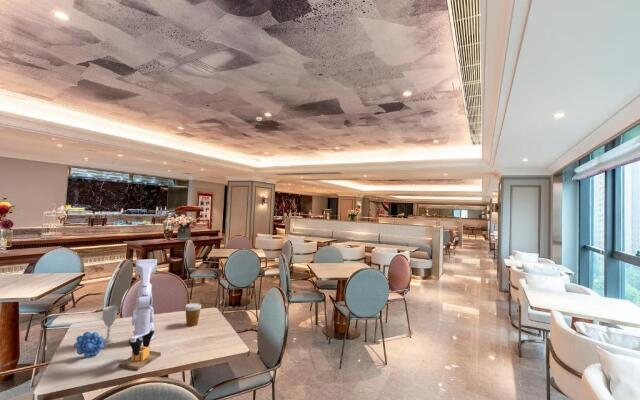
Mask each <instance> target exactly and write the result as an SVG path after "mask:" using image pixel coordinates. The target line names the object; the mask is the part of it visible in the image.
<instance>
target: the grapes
mask: <svg viewBox="0 0 640 400" xmlns="http://www.w3.org/2000/svg"><path fill="white" fill-rule="evenodd" d="M104 339H105V338H104V337H103V336H100V334H99V333H98V332H96V331H94V332H92V333H91V332H90V331H85V332H83V335H78V336H77V337H76V338H75V340H76V341H75V343H74V344H73V348H74V349H77V350H76V353H77V355H81V356H82V355H83V356H85V357H86V358H89V357H91V356H92V355H94V356H97V355H98V354H99V353H100V350H102V349H104V348H105V345H104V344H103V341H104Z"/></svg>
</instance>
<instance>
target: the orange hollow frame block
mask: <svg viewBox="0 0 640 400" xmlns="http://www.w3.org/2000/svg"><path fill="white" fill-rule="evenodd" d="M141 349H143V351H142V352H141V351H140V353H139V355H138V356H136V355H133V351H131V356H132V359H131V360H135V361H143V360H144V359H145V358H147V357H148V356H149V351H151V350H150V346H149V347H143V346H141V347H140V350H141Z"/></svg>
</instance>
